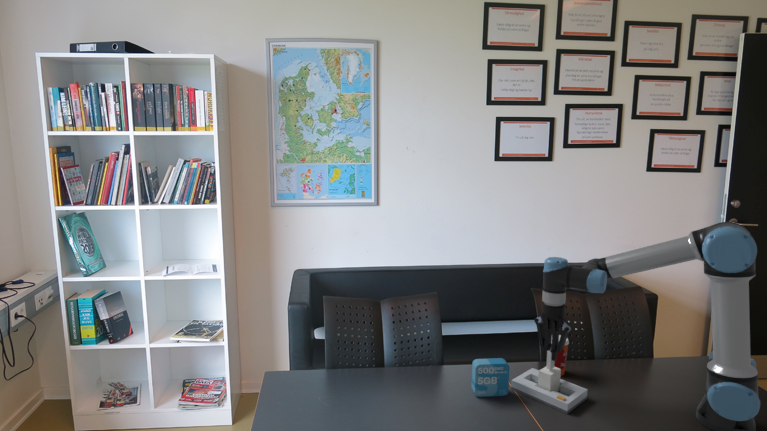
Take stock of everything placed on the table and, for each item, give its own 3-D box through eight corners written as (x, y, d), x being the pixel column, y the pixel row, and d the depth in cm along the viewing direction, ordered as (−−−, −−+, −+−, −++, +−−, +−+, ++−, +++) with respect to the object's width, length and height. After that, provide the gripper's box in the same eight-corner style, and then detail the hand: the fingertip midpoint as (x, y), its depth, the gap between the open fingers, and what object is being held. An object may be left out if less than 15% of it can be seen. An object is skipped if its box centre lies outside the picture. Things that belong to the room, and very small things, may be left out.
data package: (474, 397, 162) (475, 364, 161) (471, 390, 167) (472, 358, 165) (508, 396, 163) (509, 363, 161) (504, 389, 168) (505, 357, 166)
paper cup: (568, 378, 176) (571, 343, 174) (547, 376, 177) (549, 341, 175) (565, 368, 183) (567, 334, 181) (544, 366, 185) (546, 333, 183)
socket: (586, 398, 161) (587, 387, 161) (567, 414, 152) (567, 402, 152) (532, 376, 177) (532, 366, 176) (511, 389, 168) (511, 378, 167)
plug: (549, 397, 160) (550, 375, 159) (537, 392, 164) (538, 370, 163) (563, 387, 167) (565, 366, 166) (552, 382, 170) (553, 361, 169)
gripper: (577, 304, 157) (573, 371, 161) (541, 295, 167) (538, 358, 170) (566, 310, 152) (562, 378, 156) (530, 300, 162) (527, 364, 165)
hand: (550, 367), depth 163 cm, fingers closed
